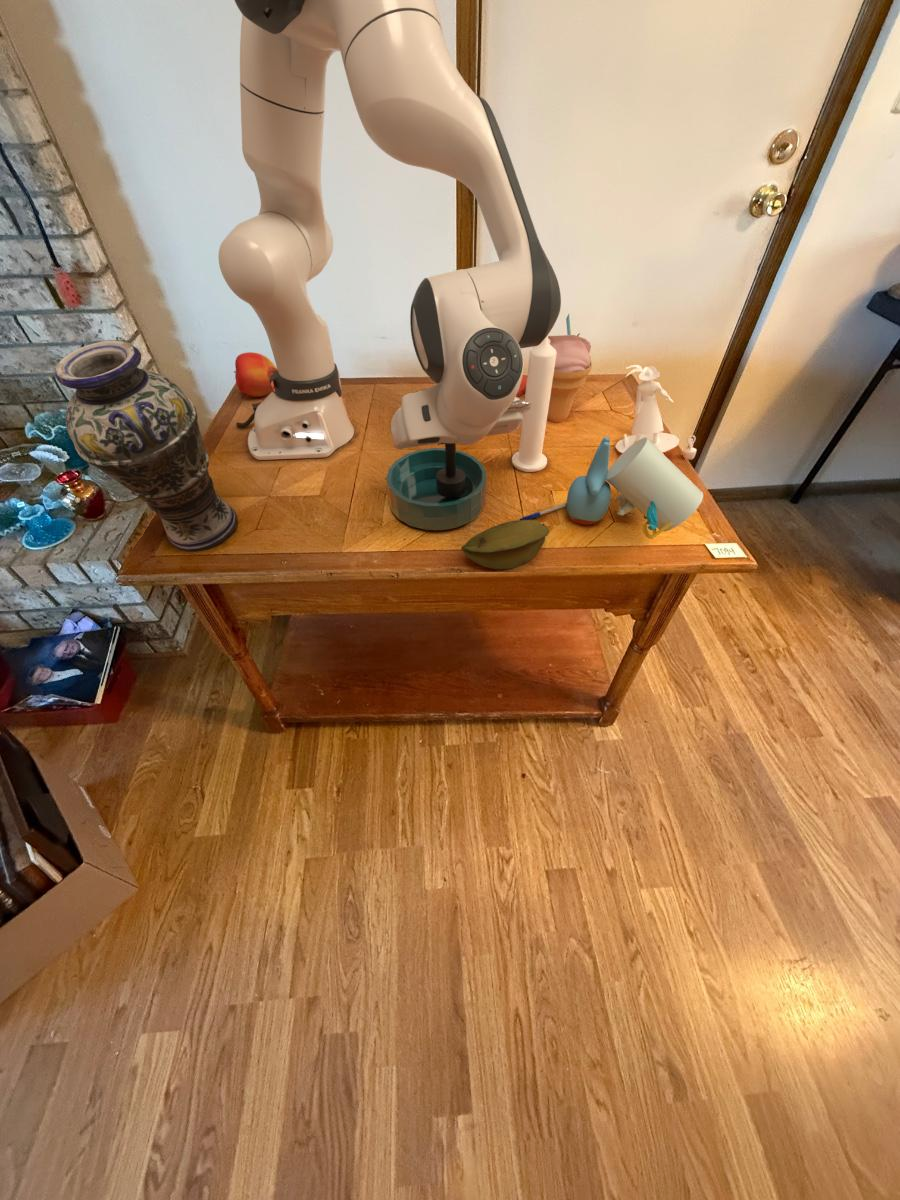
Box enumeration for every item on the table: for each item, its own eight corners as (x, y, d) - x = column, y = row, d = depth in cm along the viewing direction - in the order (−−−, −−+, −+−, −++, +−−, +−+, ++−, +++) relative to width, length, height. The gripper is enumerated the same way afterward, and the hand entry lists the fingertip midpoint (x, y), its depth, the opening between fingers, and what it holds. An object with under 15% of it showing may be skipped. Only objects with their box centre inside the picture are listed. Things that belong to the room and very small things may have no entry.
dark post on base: (440, 499, 88) (437, 402, 74) (433, 483, 91) (429, 387, 78) (468, 495, 89) (470, 398, 75) (461, 479, 92) (461, 383, 79)
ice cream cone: (524, 410, 114) (534, 315, 99) (567, 402, 116) (583, 309, 101) (545, 433, 107) (559, 335, 92) (589, 425, 109) (610, 328, 94)
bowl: (399, 541, 84) (396, 513, 80) (383, 482, 96) (379, 455, 91) (497, 524, 87) (499, 496, 83) (470, 469, 99) (470, 442, 94)
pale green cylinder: (580, 515, 80) (638, 568, 82) (636, 472, 71) (699, 532, 73) (605, 457, 93) (654, 505, 95) (655, 414, 84) (708, 467, 86)
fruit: (531, 588, 77) (535, 557, 72) (460, 569, 80) (458, 539, 75) (550, 541, 84) (554, 510, 79) (483, 526, 87) (483, 496, 82)
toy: (629, 429, 80) (602, 505, 91) (585, 422, 81) (564, 498, 92) (630, 460, 73) (601, 539, 84) (582, 452, 74) (560, 531, 85)
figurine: (692, 447, 104) (701, 344, 93) (700, 472, 95) (710, 361, 84) (615, 455, 109) (614, 358, 98) (615, 478, 100) (613, 375, 89)
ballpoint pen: (518, 517, 87) (518, 522, 88) (520, 519, 86) (520, 524, 87) (567, 501, 90) (567, 506, 91) (570, 503, 89) (570, 508, 90)
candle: (517, 474, 97) (532, 340, 78) (507, 455, 102) (519, 324, 83) (551, 469, 98) (574, 336, 79) (540, 451, 103) (558, 320, 84)
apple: (282, 353, 114) (236, 346, 109) (284, 397, 117) (239, 392, 112) (272, 358, 122) (228, 351, 117) (274, 399, 125) (231, 395, 120)
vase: (171, 580, 80) (38, 417, 55) (139, 520, 88) (10, 356, 64) (265, 532, 85) (181, 364, 61) (227, 480, 93) (139, 314, 69)
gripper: (531, 378, 71) (504, 411, 84) (390, 397, 67) (386, 427, 81) (538, 422, 71) (511, 448, 85) (399, 443, 68) (394, 466, 82)
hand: (449, 438), depth 83 cm, fingers closed on dark post on base
